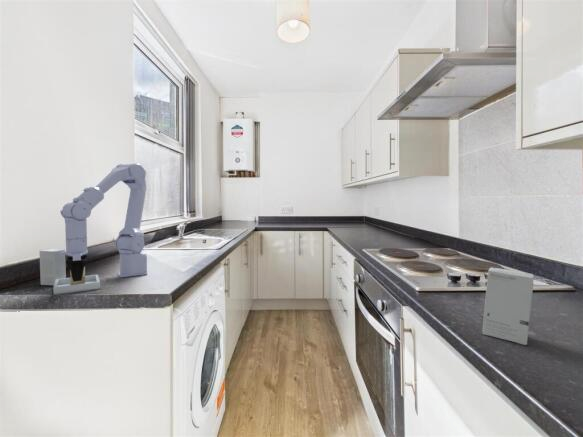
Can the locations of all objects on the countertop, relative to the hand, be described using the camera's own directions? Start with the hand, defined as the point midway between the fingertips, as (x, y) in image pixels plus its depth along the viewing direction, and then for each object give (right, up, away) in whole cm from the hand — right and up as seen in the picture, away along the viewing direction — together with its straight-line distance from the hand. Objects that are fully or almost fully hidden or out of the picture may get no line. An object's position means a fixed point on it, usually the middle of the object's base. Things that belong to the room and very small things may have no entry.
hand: (77, 278), depth 97 cm
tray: (0, -3, 0) cm, 3 cm away
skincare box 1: (-11, -3, +4) cm, 13 cm away
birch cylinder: (0, -3, 0) cm, 3 cm away
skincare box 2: (+121, -7, -32) cm, 125 cm away
